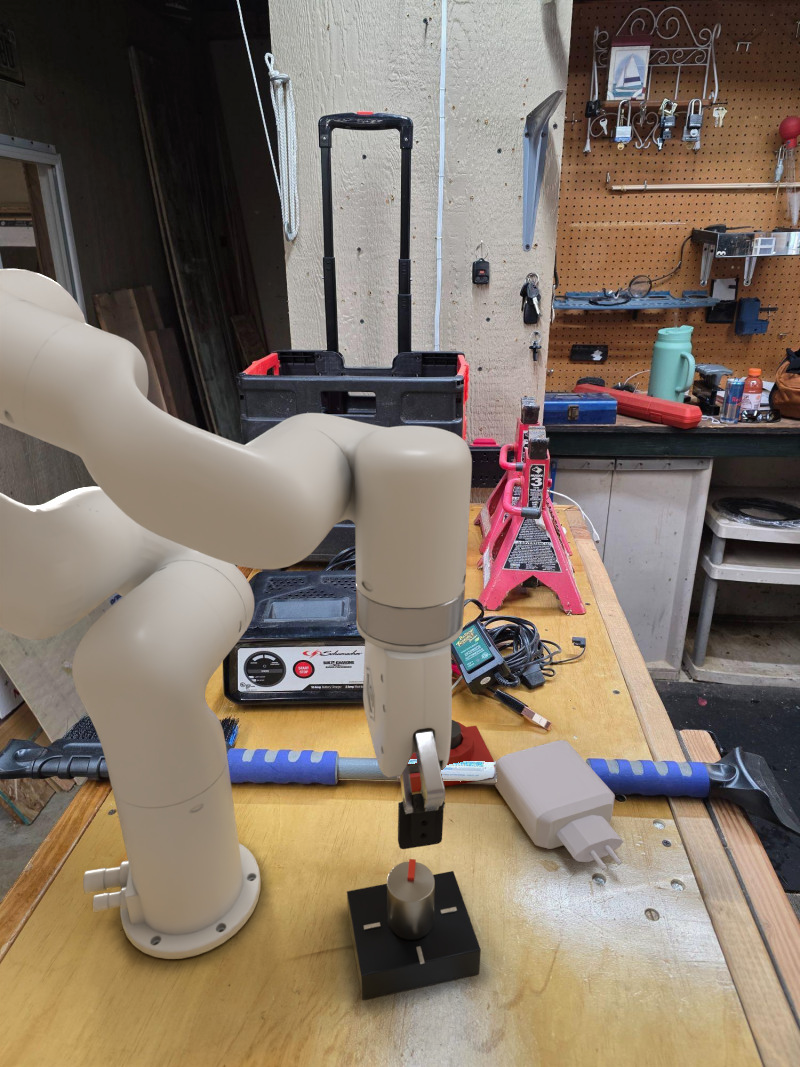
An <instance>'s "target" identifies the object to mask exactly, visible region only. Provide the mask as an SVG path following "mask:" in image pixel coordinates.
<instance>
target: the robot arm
mask: <svg viewBox="0 0 800 1067" xmlns="http://www.w3.org/2000/svg"><path fill="white" fill-rule="evenodd" d="M149 383H150V382H149V371H148V364H147V361H146V359H145V357H144V355H143V354H142V352H141V351H140V349H139V348H138V347H137V346H136V345H135V344H134V343H133V342H131V341H130V340H128V339H126V338H124V337H122V336H119V335H117V334H113V333H110V332H108V331H105V330H103V329H100V328H97V327H95V326H92V325H90V324H88V323H87V322H86V318H85V315H84V312H83V311H82V309H81V306H79V304H78V302H77V301H76V300H75V299H74V297H73V296H72V295H71V294H70V292H69V291H68V290H67V289H65V288H64V287H63V286H62V285H61V284H59V283H58V282H56V281H54V280H53V279H52V278H50V277H48V276H45V275H43V274H41V273H38V272H34V271H30V270H27V269H21V268H20V269H18V268H1V269H0V424H1V425H3V426H6V427H9V428H10V429H13V430H16V431H18V432H21V433H23V434H26V435H28V436H31V437H33V438H36V439H38V440H40V441H42V442H46V443H47V444H51V445H53V446H55V447H58V448H59V449H63V450H65V451H66V452H67V451H68V452H69V453H72V454H74V455H76V456H78V457H80V459H81V460H82V462H83V464H84V466H85V468H86V470H87V472H88V474H89V475H90V476H91V478H92V480H93V481H94V482H95V483H96V485H97V486H87V487H80V488H77V489H72V490H70V491H67V492H65V493H62V494H60V495H58V496H56V497H54V498H52V499H51V500H48V501H46V502H44V503H42V504H39V505H28V504H24V503H23V502H19V501H16V500H15V499H13V498H11V497H9V496H8V495H5V494H4V493H2V492H0V629H2V630H4V631H6V632H8V633H10V634H12V635H14V636H17V637H19V638H22V639H25V640H29V641H43V640H47V639H50V638H53V637H55V636H58V635H59V634H61V633H63V632H65V631H66V630H68V629H70V628H71V627H73V626H75V625H76V624H77V623H78V622H80V621H81V620H83V618H85V617H86V616H88V615H89V614H90V613H91V612H92V611H94V610H95V609H97V607H99V606H101V605H102V604H103V603H104V602H105V601H107V600H108V599H109V598H110V597H111V596H113V595H114V594H117V595H119V596H121V597H122V598H120V599H119V600H118V601H117V602H115V604H113V605H112V606H111V607H110V608H108V609H107V610H106V611H105V612H104V613H103V614H102V615H101V616H99V618H98V619H97V620H95V621H94V622H93V623H92V625H91V626H90V628H89V629H88V630H87V631H86V632H85V634H84V636H83V637H82V638H81V640H80V642H79V643H78V646H77V647H76V651H75V653H74V655H73V658H72V659H73V660H72V667H71V672H72V680H73V685H74V687H75V690H76V693H77V695H78V698H79V700H80V701H81V704H82V705H83V707H84V709H85V711H86V713H87V715H88V716H89V718H90V721H91V724H92V725H93V727H94V729H95V732H96V734H97V738H98V740H99V742H100V745H101V749H102V752H103V757H104V760H105V765H106V768H107V773H108V776H109V777H108V778H109V782H110V786H111V789H112V793H113V798H114V803H115V808H116V811H117V816H118V821H119V825H120V830H121V835H122V839H123V844H124V848H125V853H126V857H127V860H123V861H121V862H120V865H119V866H114V867H108V868H107V867H100V868H95V869H89V870H85V871H84V874H83V882H82V887H83V893H84V894H85V895H86V894H91V893H98V892H102V893H98V894H94V895H93V898H92V910H93V912H94V913H96V912H101V911H106V910H110V909H114V908H118V907H120V919H121V920H120V921H121V924H122V928H123V931H124V934H125V936H126V938H127V939H128V940H129V942H130V943H131V945H133V946H134V947H135V948H136V949H138V950H139V951H141V952H142V953H144V954H146V955H149V956H151V957H154V958H159V959H165V960H176V959H177V960H179V959H187V958H192V957H196V956H199V955H201V954H205V953H207V952H210V951H212V950H214V949H215V948H217V947H219V946H221V945H223V944H224V943H225V942H227V941H228V940H230V938H232V937H233V936H235V935H236V934H237V933H238V932H239V931H240V930H241V929H242V927H244V925H245V924H246V923H247V922H248V920H249V919H250V917H251V916H252V914H253V913H254V911H255V908H256V906H257V904H258V902H259V898H260V893H261V881H262V880H261V874H260V868H259V864H258V862H257V859H256V857H255V856H254V855H253V853H252V851H250V850H249V848H247V847H246V846H245V845H243V844H241V843H240V841H239V834H238V827H237V820H236V812H235V805H234V804H235V803H234V796H233V788H232V781H231V774H230V766H229V757H228V753H227V744H226V738H225V733H224V729H223V726H222V723H221V720H220V719H219V717H218V716H217V714H216V713H215V712H214V711H213V710H212V709H211V707H209V705H208V702H207V700H206V690H207V687H208V684H209V682H210V680H211V678H212V676H213V675H214V674H215V672H216V671H217V670H218V669H219V667H220V666H221V665H222V663H223V661H225V659H226V657H227V656H228V655H229V654H230V652H231V651H232V650H233V649H234V647H235V646H236V645H237V643H238V642H239V641H240V639H241V638H242V637H243V636H244V634H245V633H246V631H247V630H248V628H249V627H250V624H251V622H252V619H253V618H254V617H253V616H254V613H255V596H254V593H253V589H252V587H251V585H250V583H249V581H248V579H247V577H246V576H245V574H244V573H243V572H242V571H241V570H240V569H239V567H243V568H249V569H254V570H278V569H283V568H287V567H291V566H293V565H295V564H297V563H300V562H302V561H303V560H305V559H306V558H307V557H308V556H310V555H312V553H313V552H314V551H315V550H316V549H317V548H318V547H319V545H320V544H321V543H322V542H323V541H324V540H325V539H326V537H327V536H328V534H329V533H330V532H331V531H332V529H333V528H334V527H335V526H336V525H338V524H339V523H341V522H344V521H347V520H349V521H351V522H352V523H353V524H354V525H355V526H354V527H355V528H354V538H355V540H354V541H355V542H354V543H355V544H354V547H355V549H354V550H355V601H356V603H355V604H356V607H355V608H356V617H355V618H356V620H355V621H356V624H355V626H356V629H357V630H356V631H357V632H358V634H359V635H360V637H361V638H363V639H364V657H363V658H364V660H363V684H362V685H363V686H362V699H363V710H364V714H365V718H366V722H367V727H368V730H369V735H370V738H371V742H372V743H371V744H372V747H373V751H374V754H375V758H376V762H377V764H378V768H379V771H380V772H381V773H382V774H383V775H384V776H385V777H387V778H392V777H399V781H400V788H401V797H402V801H399V802H398V805H397V806H398V807H397V810H398V811H397V843H398V847H399V849H400V850H407V849H415V848H420V847H426V846H433V845H438V844H440V843H442V841H443V829H444V828H443V827H444V809H445V805H446V802H445V801H446V789H445V787H444V783H443V778H442V774H441V770H443V769H444V768H445V767H446V765H447V763H448V761H449V755H450V745H451V725H452V720H453V677H452V676H453V669H452V644H453V643H454V642H455V641H457V639H459V637H460V636H461V634H462V633H463V629H464V614H465V613H464V611H465V599H466V598H465V596H466V578H467V577H466V576H467V557H468V543H469V526H470V509H471V508H470V507H471V491H472V473H473V472H472V471H473V458H472V453H471V450H470V447H469V444H467V442H466V441H465V440H464V438H462V437H461V436H459V435H458V434H457V433H455V432H452V431H448V430H446V429H443V428H439V427H434V426H426V425H399V426H398V425H396V426H390V427H387V426H381V425H376V424H371V423H367V422H362V421H359V420H354V419H350V418H346V417H341V416H337V415H332V414H328V413H321V412H306V413H300V414H299V413H298V414H296V415H292V416H290V417H287V418H286V419H284V420H282V421H280V422H279V423H278V424H276V425H274V426H273V427H271V428H269V429H268V430H266V431H265V432H263V433H262V434H260V435H259V436H257V437H255V438H254V439H252V440H250V441H249V442H247V443H246V444H242V443H239V442H236V441H234V440H230V439H228V438H225V437H223V436H220V435H218V434H215V433H212V432H210V431H207V430H205V429H202V428H199V427H197V426H195V425H192V424H190V423H188V422H186V421H183V420H181V419H179V418H178V417H174V416H173V415H171V414H169V413H168V412H166V411H164V410H162V409H161V408H159V407H158V406H157V405H155V404H154V403H152V402H151V401H150V400H149V399H148V394H149V385H150V384H149ZM237 566H238V567H237ZM413 753H416V757H417V763H415V764H408V762H409V760H410V758H411V756H412V754H413ZM413 773H420V778H421V791H420V792H419V793H413V792H412V790H411V781H410V774H413ZM119 887H120V890H119V891H114V892H113V891H112V892H109V891H108V892H104V891H107V890H108V889H115V888H119Z"/></svg>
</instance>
